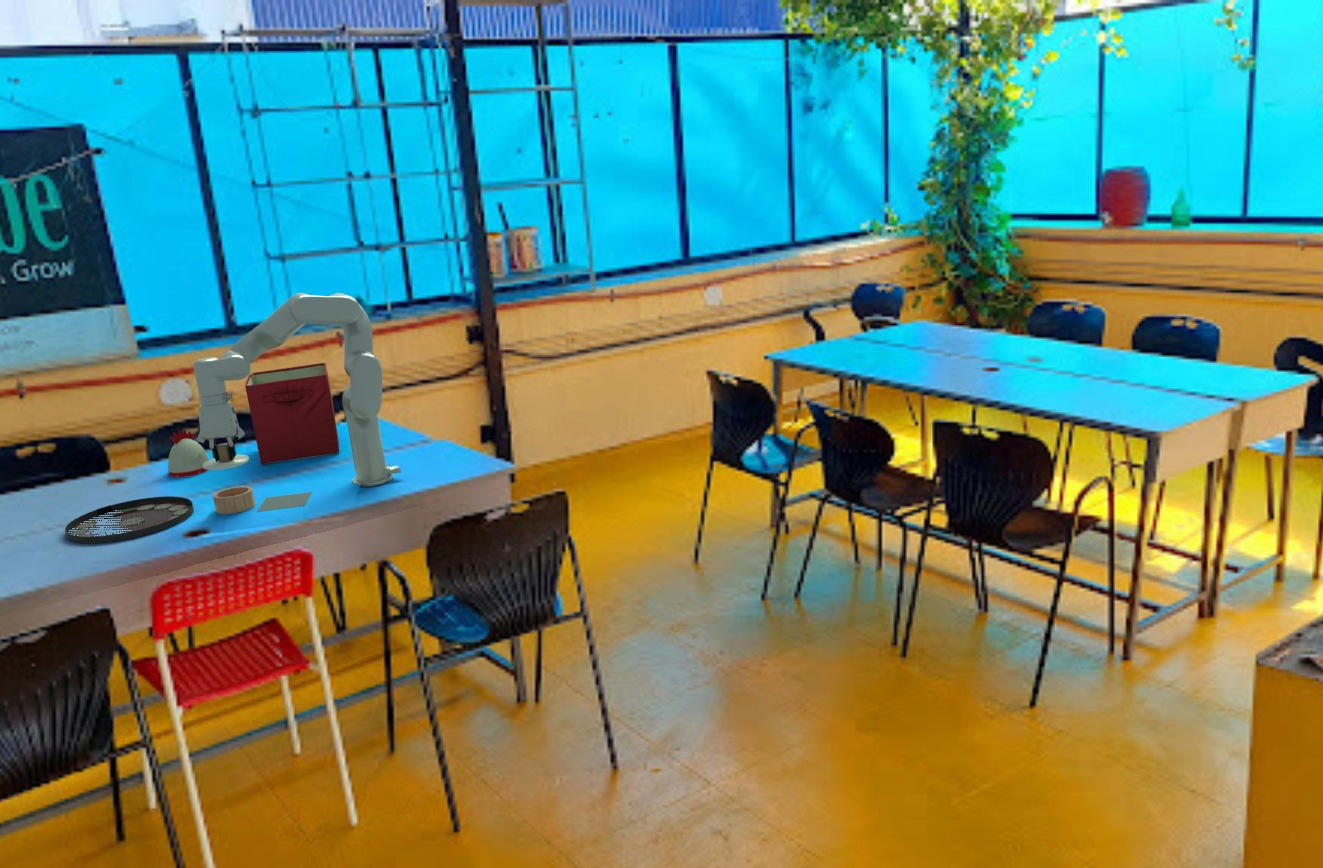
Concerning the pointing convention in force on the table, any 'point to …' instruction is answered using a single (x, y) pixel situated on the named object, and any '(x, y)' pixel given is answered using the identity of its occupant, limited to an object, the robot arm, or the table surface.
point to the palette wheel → (132, 518)
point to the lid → (225, 459)
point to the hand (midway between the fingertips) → (225, 458)
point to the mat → (284, 501)
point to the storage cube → (292, 413)
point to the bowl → (234, 500)
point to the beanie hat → (186, 456)
